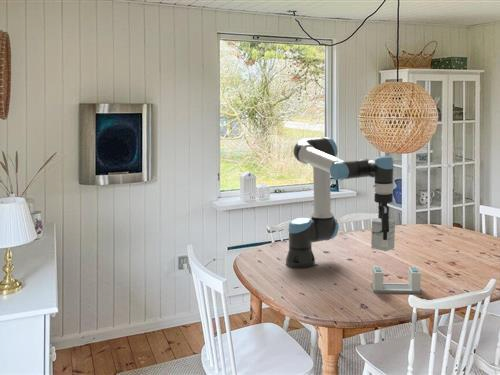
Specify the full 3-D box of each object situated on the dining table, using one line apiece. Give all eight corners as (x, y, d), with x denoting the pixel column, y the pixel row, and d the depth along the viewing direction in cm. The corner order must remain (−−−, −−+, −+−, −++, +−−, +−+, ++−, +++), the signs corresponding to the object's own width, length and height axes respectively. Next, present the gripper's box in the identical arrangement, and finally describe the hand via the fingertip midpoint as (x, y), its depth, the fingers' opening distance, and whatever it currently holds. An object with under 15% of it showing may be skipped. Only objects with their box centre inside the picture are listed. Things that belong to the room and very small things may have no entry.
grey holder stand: (373, 292, 204) (374, 272, 202) (371, 285, 213) (371, 265, 211) (421, 293, 201) (422, 272, 200) (416, 285, 210) (417, 265, 208)
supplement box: (370, 248, 204) (370, 220, 202) (380, 245, 209) (380, 217, 207) (385, 252, 198) (386, 222, 196) (395, 248, 203) (395, 219, 201)
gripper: (371, 188, 211) (371, 236, 215) (377, 197, 189) (377, 250, 193) (389, 188, 210) (388, 236, 214) (396, 197, 188) (396, 251, 192)
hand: (383, 243), depth 203 cm, fingers closed on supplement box, 10 cm apart
